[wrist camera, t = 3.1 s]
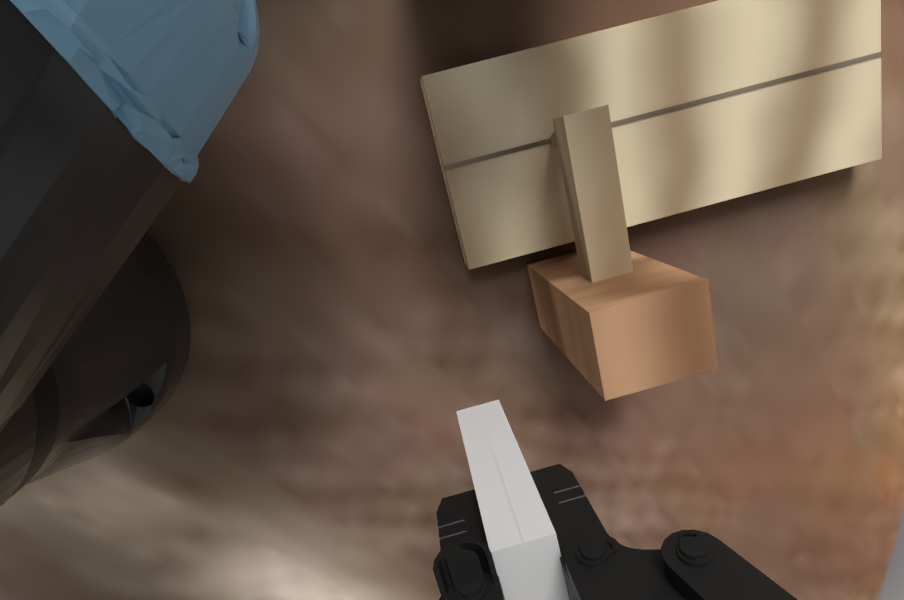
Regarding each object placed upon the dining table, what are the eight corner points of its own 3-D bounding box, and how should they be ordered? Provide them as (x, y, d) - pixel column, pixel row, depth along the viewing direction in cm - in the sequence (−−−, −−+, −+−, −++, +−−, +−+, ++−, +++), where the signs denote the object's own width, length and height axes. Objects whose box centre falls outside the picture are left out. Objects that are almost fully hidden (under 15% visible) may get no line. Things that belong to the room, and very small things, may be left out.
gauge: (541, 335, 31) (607, 413, 22) (498, 133, 28) (553, 118, 18) (619, 314, 31) (719, 381, 22) (586, 110, 28) (687, 83, 18)
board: (464, 263, 29) (469, 270, 28) (419, 81, 27) (421, 75, 25) (854, 158, 30) (882, 158, 29) (850, -29, 28) (881, -42, 26)
